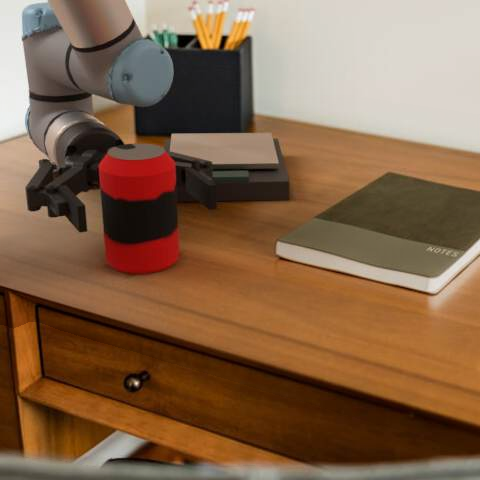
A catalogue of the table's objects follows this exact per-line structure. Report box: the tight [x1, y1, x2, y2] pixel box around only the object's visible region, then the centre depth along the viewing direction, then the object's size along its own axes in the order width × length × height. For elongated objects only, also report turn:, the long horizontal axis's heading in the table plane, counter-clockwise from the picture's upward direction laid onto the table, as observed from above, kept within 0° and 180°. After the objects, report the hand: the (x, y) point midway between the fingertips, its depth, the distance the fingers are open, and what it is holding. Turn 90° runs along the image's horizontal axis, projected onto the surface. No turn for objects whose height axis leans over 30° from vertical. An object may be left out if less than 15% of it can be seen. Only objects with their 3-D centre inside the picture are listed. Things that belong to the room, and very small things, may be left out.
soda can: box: [99, 142, 180, 275], centre depth 93 cm, size 8×8×12 cm
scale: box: [163, 138, 290, 203], centre depth 121 cm, size 16×19×3 cm
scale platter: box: [170, 132, 279, 170], centre depth 121 cm, size 14×14×1 cm
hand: (150, 208), depth 90 cm, fingers open, 13 cm apart
